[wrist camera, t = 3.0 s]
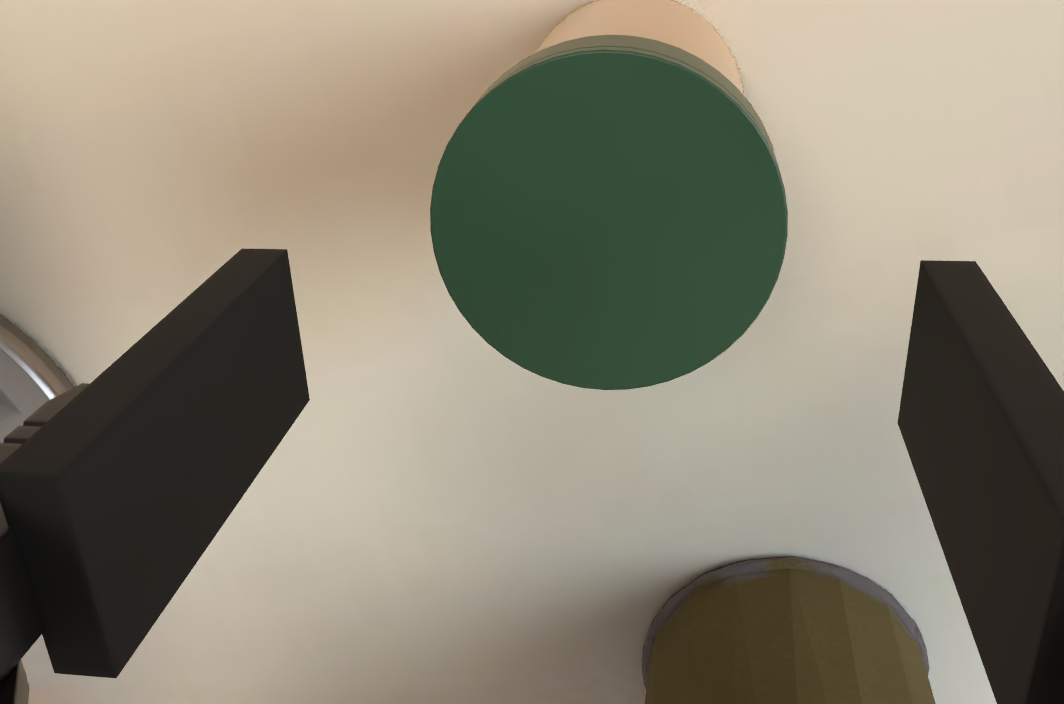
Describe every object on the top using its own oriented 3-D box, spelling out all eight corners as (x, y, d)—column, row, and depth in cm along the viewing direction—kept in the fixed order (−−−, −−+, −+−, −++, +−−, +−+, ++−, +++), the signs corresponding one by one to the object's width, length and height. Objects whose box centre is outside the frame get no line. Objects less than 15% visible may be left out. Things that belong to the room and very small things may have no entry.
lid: (455, 349, 24) (439, 385, 22) (432, 36, 21) (411, 52, 19) (768, 357, 23) (775, 396, 21) (793, 31, 20) (802, 47, 18)
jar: (528, 210, 32) (461, 361, 22) (519, -6, 29) (439, 65, 20) (736, 212, 31) (757, 370, 22) (749, -10, 28) (779, 62, 19)
